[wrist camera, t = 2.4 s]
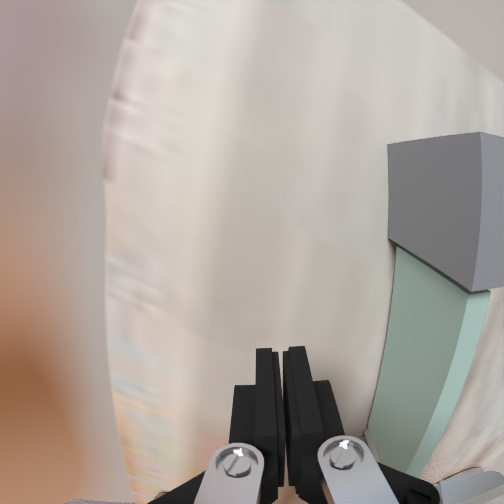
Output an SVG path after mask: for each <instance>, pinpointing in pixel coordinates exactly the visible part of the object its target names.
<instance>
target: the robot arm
mask: <svg viewBox="0 0 504 504" xmlns="http://www.w3.org/2000/svg"><path fill="white" fill-rule="evenodd" d="M285 442H286V455H287V467H288V481H289V486H295V489H296V494H298V495H299V498H301V499H302V500H304V501H306V502H307V503H309V504H504V476H503V475H502V474H501V473H499V472H496V471H487V472H484V471H483V469H482V468H472V469H468V470H465V471H463V472H460V473H458V474H456V475H453V476H451V477H449V478H447V479H445V480H443V481H440V482H439V483H438V484H431V483H429V482H427V481H424V480H421V479H419V478H416V477H413V476H411V475H408V474H406V473H403V472H401V471H398V470H396V469H393V468H391V467H389V466H386V465H384V464H382V463H379V462H377V461H376V460H375V459H374V457H373V455H372V453H371V451H370V449H369V448H368V446H367V445H366V444H365V443H364V442H363V441H362V440H360V439H359V438H356V437H353V436H345V433H344V430H343V426H342V423H341V419H340V416H339V412H338V409H337V405H336V402H335V398H334V395H333V391H332V388H331V384H330V382H329V380H323V381H313V380H312V376H311V371H310V367H309V362H308V358H307V354H306V350H305V346H296V347H289V351H283V399H282V388H281V377H280V367H279V356H278V352H272V348H258V349H256V385H235V388H234V397H233V407H232V417H231V427H230V437H229V444H227V445H224V446H222V447H220V448H218V449H217V450H216V451H215V452H214V453H213V455H212V456H211V458H210V460H209V463H208V466H207V469H206V471H204V472H203V473H201V474H199V475H198V476H196V477H194V478H193V479H191V480H189V481H188V482H186V483H184V484H182V485H181V486H179V487H177V488H175V489H173V490H172V491H170V492H168V493H166V494H164V495H162V496H160V497H158V498H156V499H155V500H153V501H151V502H149V503H147V504H272V503H273V502H274V501H276V500H277V499H278V487H284V468H285ZM65 504H135V503H122V502H103V501H90V500H81V499H75V500H71V501H68V502H67V503H65Z"/></svg>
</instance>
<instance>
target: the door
mask: <svg viewBox="0 0 504 504" xmlns="http://www.w3.org/2000/svg"><path fill="white" fill-rule="evenodd" d="M490 292H491V291H489V290H488V289H486V290H479V291H472V292H471V291H470V290H468V289H467V288H465V287H464V286H463V285H461V284H460V283H458V282H457V281H455V280H454V279H452V278H451V277H449V276H448V275H446V274H445V273H443V272H442V271H440V270H439V269H437V268H436V267H434V266H432V265H431V264H429V263H428V262H426V261H425V260H423V259H422V258H420V257H418V256H417V255H415V254H414V253H412V252H410V251H409V250H407V249H405V248H404V247H402V246H397V247H396V261H395V273H394V284H393V293H392V302H391V310H390V317H389V324H388V331H387V337H386V343H385V349H384V355H383V360H382V365H381V370H380V375H379V380H378V385H377V389H376V394H375V398H374V402H373V406H372V410H371V414H370V418H369V422H368V427H369V428H367V429H366V430H365V433H364V434H365V437H366V440H367V443H368V446H369V449H370V451H371V453H372V455H373V457H374V459H375V460H376V461H377V462H379V463H382V464H384V465H386V466H389V467H391V468H393V469H396V470H398V471H401V472H403V473H406V474H408V475H411V476H413V477H416V478H419V476H420V474H421V473H422V471H423V469H424V468H425V466H426V464H427V462H428V460H429V459H430V457H431V455H432V453H433V451H434V449H435V448H436V446H437V444H438V442H439V440H440V438H441V436H442V434H443V432H444V430H445V428H446V425H447V423H448V421H449V419H450V417H451V415H452V412H453V410H454V408H455V405H456V403H457V401H458V398H459V396H460V393H461V391H462V388H463V385H464V383H465V380H466V377H467V375H468V372H469V369H470V366H471V363H472V360H473V357H474V354H475V351H476V347H477V344H478V341H479V337H480V334H481V330H482V326H483V323H484V319H485V315H486V310H487V306H488V302H489V297H490Z"/></svg>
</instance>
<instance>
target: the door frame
mask: <svg viewBox="0 0 504 504" xmlns="http://www.w3.org/2000/svg"><path fill="white" fill-rule="evenodd" d="M387 145H388V172H389V217H388V238H389V239H391V240H392V241H394V242H396V243H397V244H399V245H401V246H402V247H404V248H405V249H407V250H409V251H410V252H412V253H414V254H415V255H417V256H418V257H420V258H422V259H423V260H425V261H426V262H428V263H429V264H431V265H432V266H434V267H436V268H437V269H439V270H440V271H442V272H443V273H445V274H446V275H448V276H449V277H451V278H452V279H454V280H455V281H457V282H458V283H460V284H461V285H463V286H464V287H465V288H467V289H468V290H470V291H471V292H472V291H479V290H486V289H492V288H498V287H504V137H501V136H496V135H492V134H487V133H483V132H475V133H466V134H457V135H448V136H440V137H433V138H426V139H419V140H412V141H405V142H399V143H393V144H387ZM358 438H359V439H360V440H362V441H363V442H364V443H365V444H366V445H367V446H368V443H367V440H366V437H365V436H361V437H358ZM368 448H369V446H368Z"/></svg>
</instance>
